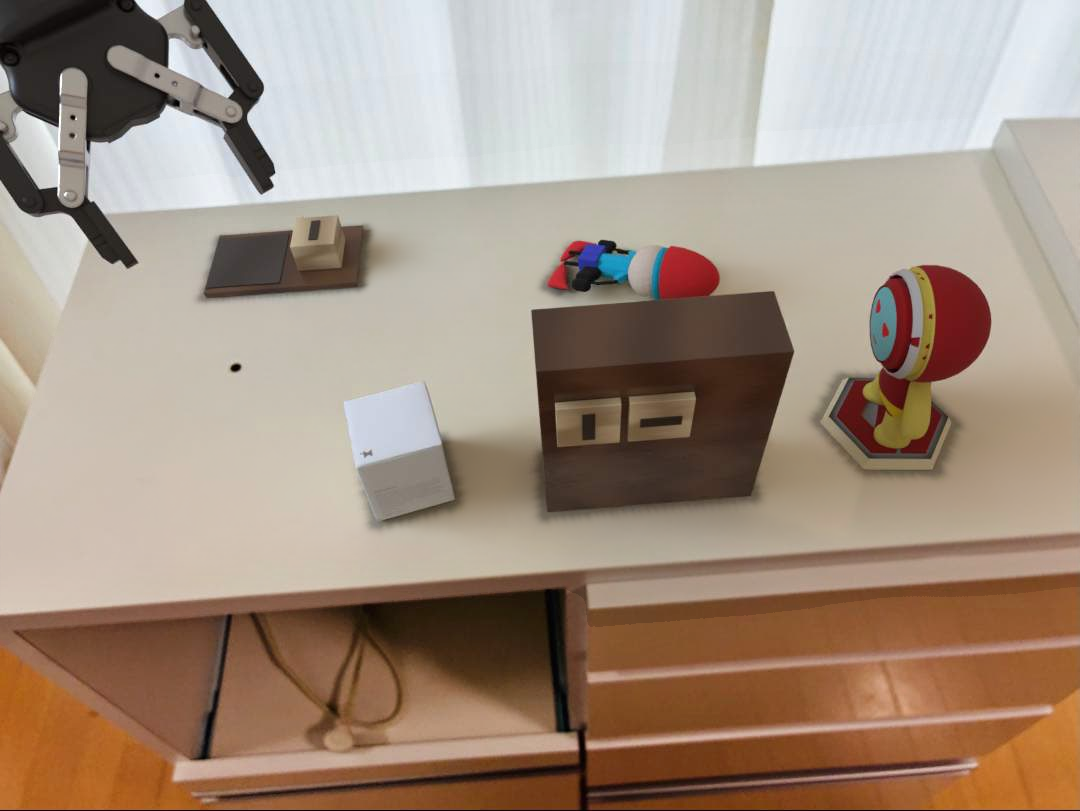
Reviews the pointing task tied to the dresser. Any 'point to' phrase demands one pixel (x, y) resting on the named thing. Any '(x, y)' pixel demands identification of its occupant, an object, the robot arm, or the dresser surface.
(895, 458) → the figurine
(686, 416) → the dark wooden block
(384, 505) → the product box
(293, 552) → the dresser surface
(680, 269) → the toy figure
